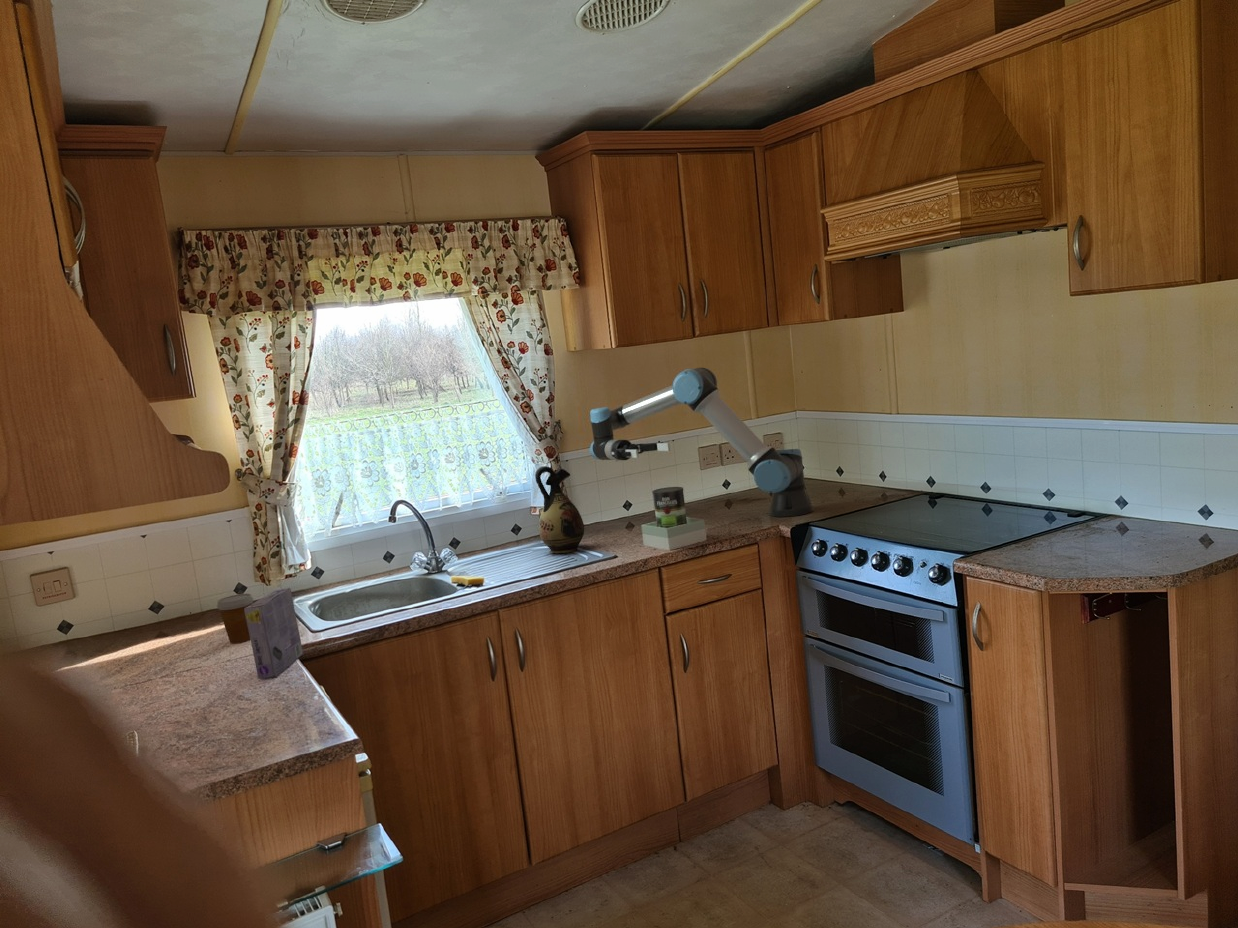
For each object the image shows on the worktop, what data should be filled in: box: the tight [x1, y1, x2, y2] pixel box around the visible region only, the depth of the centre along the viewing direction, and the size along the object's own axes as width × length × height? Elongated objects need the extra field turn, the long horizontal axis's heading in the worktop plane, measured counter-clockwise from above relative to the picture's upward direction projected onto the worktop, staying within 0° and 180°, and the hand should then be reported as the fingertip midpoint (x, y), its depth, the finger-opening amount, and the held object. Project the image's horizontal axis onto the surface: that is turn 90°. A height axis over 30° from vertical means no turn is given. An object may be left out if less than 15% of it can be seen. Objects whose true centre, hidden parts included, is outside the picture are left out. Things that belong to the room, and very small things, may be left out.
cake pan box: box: [244, 587, 304, 680], centre depth 231 cm, size 19×5×18 cm, turn 178°
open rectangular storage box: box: [640, 516, 707, 551], centre depth 315 cm, size 15×15×7 cm
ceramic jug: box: [534, 465, 585, 554], centre depth 324 cm, size 17×15×30 cm
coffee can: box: [651, 486, 687, 528], centre depth 314 cm, size 10×10×14 cm
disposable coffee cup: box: [216, 593, 254, 644], centre depth 262 cm, size 10×10×12 cm
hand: (653, 450), depth 328 cm, fingers open, 13 cm apart
